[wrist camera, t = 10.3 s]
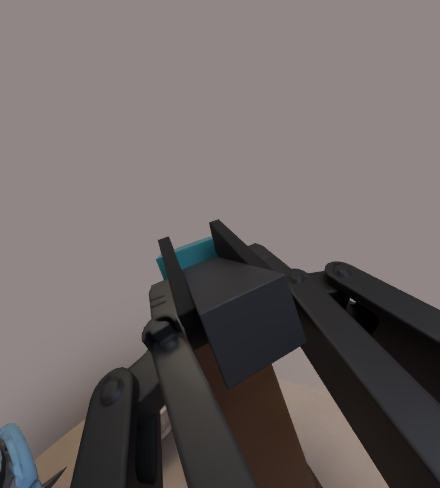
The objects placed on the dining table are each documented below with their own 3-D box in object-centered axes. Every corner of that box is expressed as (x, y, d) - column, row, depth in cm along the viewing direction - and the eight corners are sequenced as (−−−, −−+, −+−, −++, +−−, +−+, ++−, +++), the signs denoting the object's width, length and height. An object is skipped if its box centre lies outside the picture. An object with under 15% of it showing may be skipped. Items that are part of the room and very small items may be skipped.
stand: (231, 480, 26) (159, 300, 24) (291, 434, 29) (232, 268, 26) (272, 640, 16) (149, 344, 13) (361, 544, 18) (273, 284, 16)
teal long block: (173, 284, 22) (161, 253, 21) (217, 266, 23) (207, 237, 23) (178, 422, 5) (123, 286, 5) (341, 322, 6) (308, 215, 6)
